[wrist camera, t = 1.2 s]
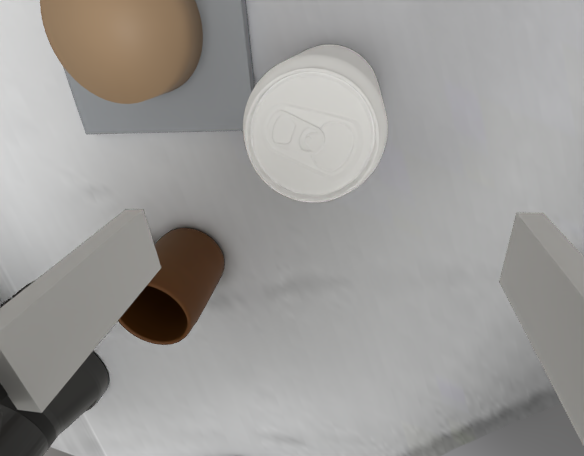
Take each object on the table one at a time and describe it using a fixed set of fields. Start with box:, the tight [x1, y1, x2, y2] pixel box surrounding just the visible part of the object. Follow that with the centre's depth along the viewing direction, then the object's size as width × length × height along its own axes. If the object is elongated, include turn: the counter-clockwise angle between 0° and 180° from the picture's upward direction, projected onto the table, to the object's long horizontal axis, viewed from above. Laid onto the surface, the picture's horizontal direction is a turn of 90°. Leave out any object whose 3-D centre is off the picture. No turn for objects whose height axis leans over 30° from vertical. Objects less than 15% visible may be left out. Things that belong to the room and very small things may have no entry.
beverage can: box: [243, 44, 388, 203], centre depth 24 cm, size 8×8×12 cm
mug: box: [118, 228, 224, 345], centre depth 36 cm, size 12×8×9 cm, turn 74°
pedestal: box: [40, 0, 255, 134], centre depth 26 cm, size 16×16×6 cm
